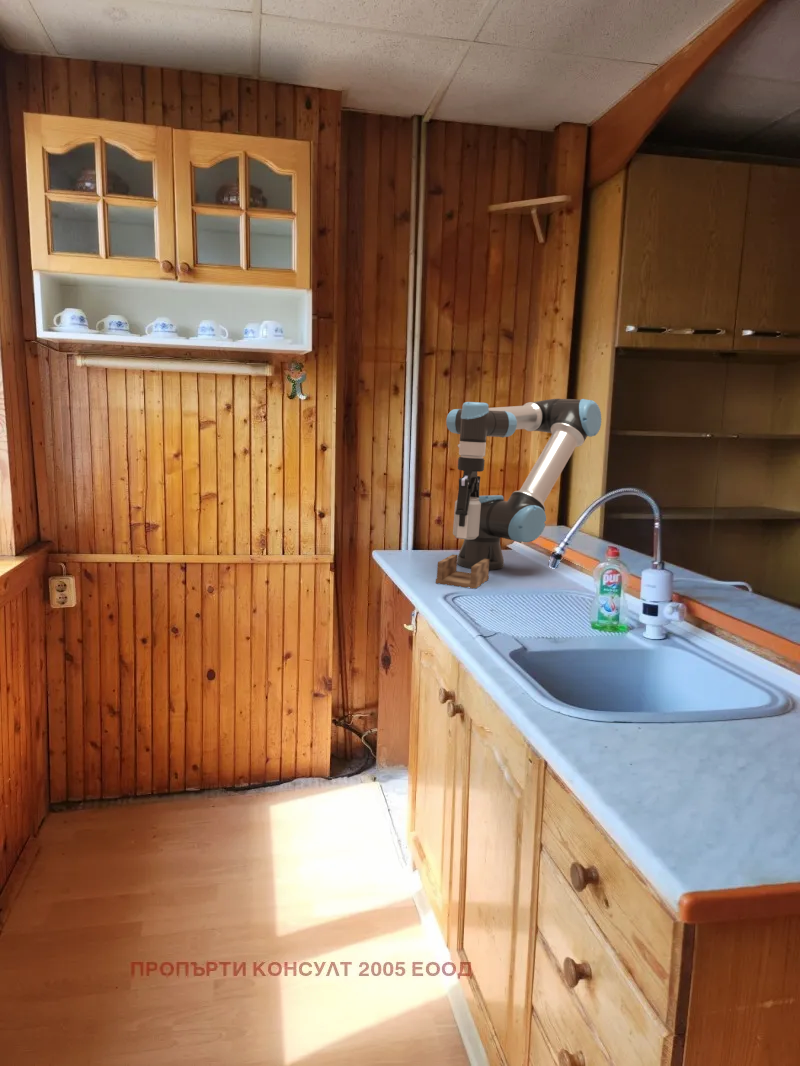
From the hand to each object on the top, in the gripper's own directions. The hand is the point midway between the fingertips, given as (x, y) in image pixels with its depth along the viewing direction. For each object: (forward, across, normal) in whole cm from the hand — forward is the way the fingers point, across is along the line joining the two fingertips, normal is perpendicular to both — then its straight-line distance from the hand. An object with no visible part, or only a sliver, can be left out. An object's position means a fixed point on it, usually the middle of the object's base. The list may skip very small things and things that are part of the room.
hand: (465, 535), depth 210 cm
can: (+1, 0, 0) cm, 1 cm away
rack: (+14, 0, 0) cm, 14 cm away
